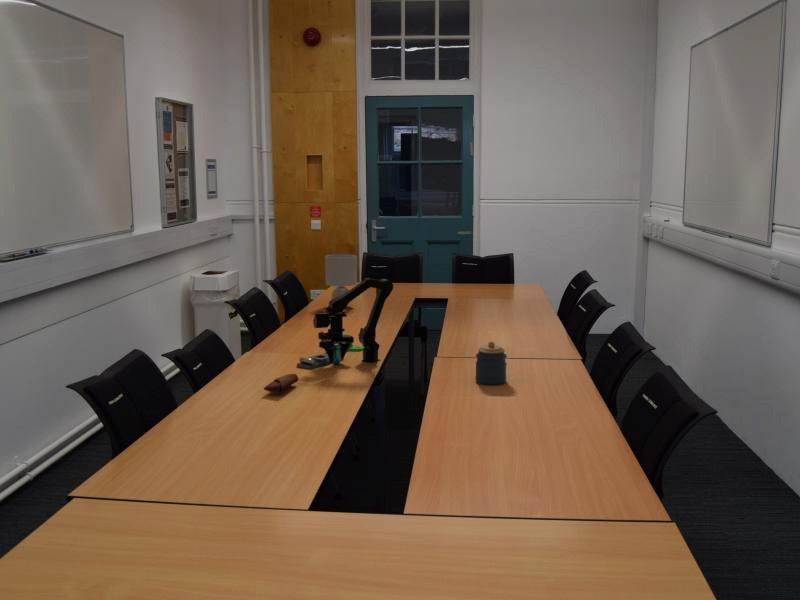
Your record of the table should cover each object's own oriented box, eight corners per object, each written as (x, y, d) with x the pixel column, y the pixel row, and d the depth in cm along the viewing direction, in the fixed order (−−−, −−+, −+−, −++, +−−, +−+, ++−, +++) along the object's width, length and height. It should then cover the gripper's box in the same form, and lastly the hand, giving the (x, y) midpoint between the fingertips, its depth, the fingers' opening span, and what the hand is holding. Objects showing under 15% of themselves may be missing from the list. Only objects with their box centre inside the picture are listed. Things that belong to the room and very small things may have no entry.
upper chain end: (343, 359, 382) (343, 348, 382) (321, 365, 369) (321, 354, 369) (330, 357, 387) (330, 346, 386) (308, 363, 374) (308, 352, 373)
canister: (474, 386, 334) (475, 344, 331) (475, 378, 346) (476, 338, 344) (506, 387, 332) (507, 345, 329) (506, 379, 345) (507, 338, 342)
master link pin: (343, 364, 372) (342, 345, 371) (337, 365, 369) (337, 346, 368) (336, 363, 375) (336, 344, 373) (330, 364, 371) (330, 345, 370)
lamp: (362, 311, 518) (362, 256, 513) (334, 314, 507) (334, 258, 502) (347, 307, 535) (347, 253, 529) (320, 309, 524) (319, 255, 519)
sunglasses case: (279, 378, 340) (288, 366, 338) (292, 389, 340) (300, 377, 338) (262, 389, 323) (271, 377, 321) (275, 400, 322) (284, 388, 321)
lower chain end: (332, 362, 376) (332, 354, 375) (310, 369, 363) (310, 360, 362) (319, 360, 380) (319, 352, 380) (296, 366, 367) (296, 358, 367)
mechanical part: (338, 351, 400) (338, 335, 399) (342, 349, 406) (341, 333, 405) (361, 353, 397) (361, 337, 396) (365, 350, 403) (365, 334, 402)
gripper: (335, 321, 381) (336, 354, 384) (309, 328, 366) (310, 361, 369) (354, 324, 375) (354, 357, 378) (328, 330, 360) (329, 364, 362)
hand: (336, 360), depth 372 cm, fingers open, 8 cm apart
